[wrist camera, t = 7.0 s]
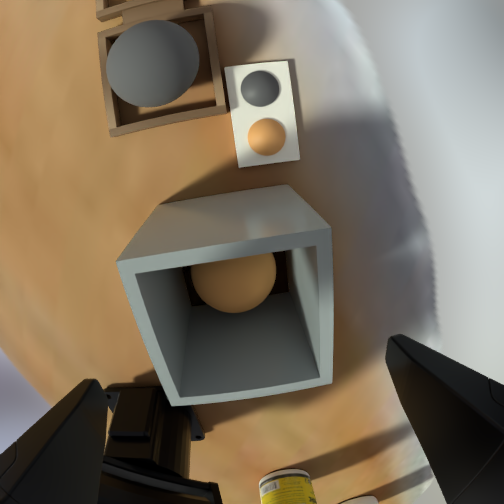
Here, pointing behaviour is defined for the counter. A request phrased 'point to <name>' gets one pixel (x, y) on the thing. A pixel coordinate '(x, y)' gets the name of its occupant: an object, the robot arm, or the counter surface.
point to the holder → (144, 9)
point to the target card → (262, 113)
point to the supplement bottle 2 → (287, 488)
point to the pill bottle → (362, 500)
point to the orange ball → (235, 282)
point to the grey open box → (233, 324)
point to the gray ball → (152, 63)
